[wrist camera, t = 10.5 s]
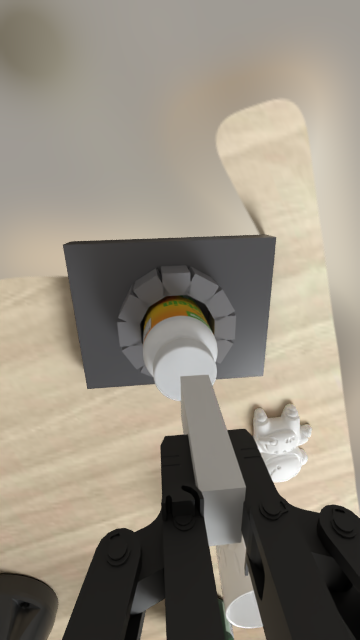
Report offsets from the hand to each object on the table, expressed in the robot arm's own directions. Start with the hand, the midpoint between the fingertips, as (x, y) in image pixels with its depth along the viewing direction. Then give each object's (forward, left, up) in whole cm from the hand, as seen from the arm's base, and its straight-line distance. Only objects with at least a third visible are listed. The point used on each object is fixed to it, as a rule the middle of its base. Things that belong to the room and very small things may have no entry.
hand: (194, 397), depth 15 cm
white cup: (+8, -33, -15) cm, 37 cm away
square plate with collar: (0, 0, -15) cm, 15 cm away
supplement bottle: (0, 0, -12) cm, 12 cm away
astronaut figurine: (+13, -19, -15) cm, 27 cm away
